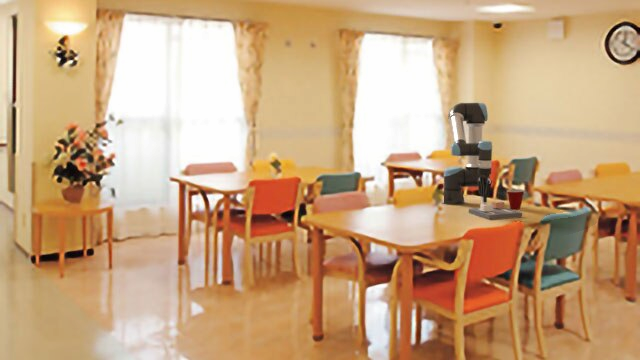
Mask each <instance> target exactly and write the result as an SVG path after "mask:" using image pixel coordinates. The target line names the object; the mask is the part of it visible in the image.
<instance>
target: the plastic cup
mask: <svg viewBox="0 0 640 360" xmlns="http://www.w3.org/2000/svg"><path fill="white" fill-rule="evenodd" d="M524 192H525V189H508V190H506V193H507V197H508V198H507V199H508V204H509V209H511V210H515V211H519V210H521V207H522V202H523V197H524Z"/></svg>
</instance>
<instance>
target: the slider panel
mask: <svg viewBox="0 0 640 360" xmlns="http://www.w3.org/2000/svg"><path fill="white" fill-rule="evenodd" d="M468 214H471V215H474V216H477V217H480V218H483V219H486V220H500V219H501V220H502V219H503V220H504V219H514V217H516V218H522V217H523V212H522V211H519V210H512V209H510V208H508V207H504V208H493V211H485V212H484V211H480V207H477V208H476V207H475V208H468Z"/></svg>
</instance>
